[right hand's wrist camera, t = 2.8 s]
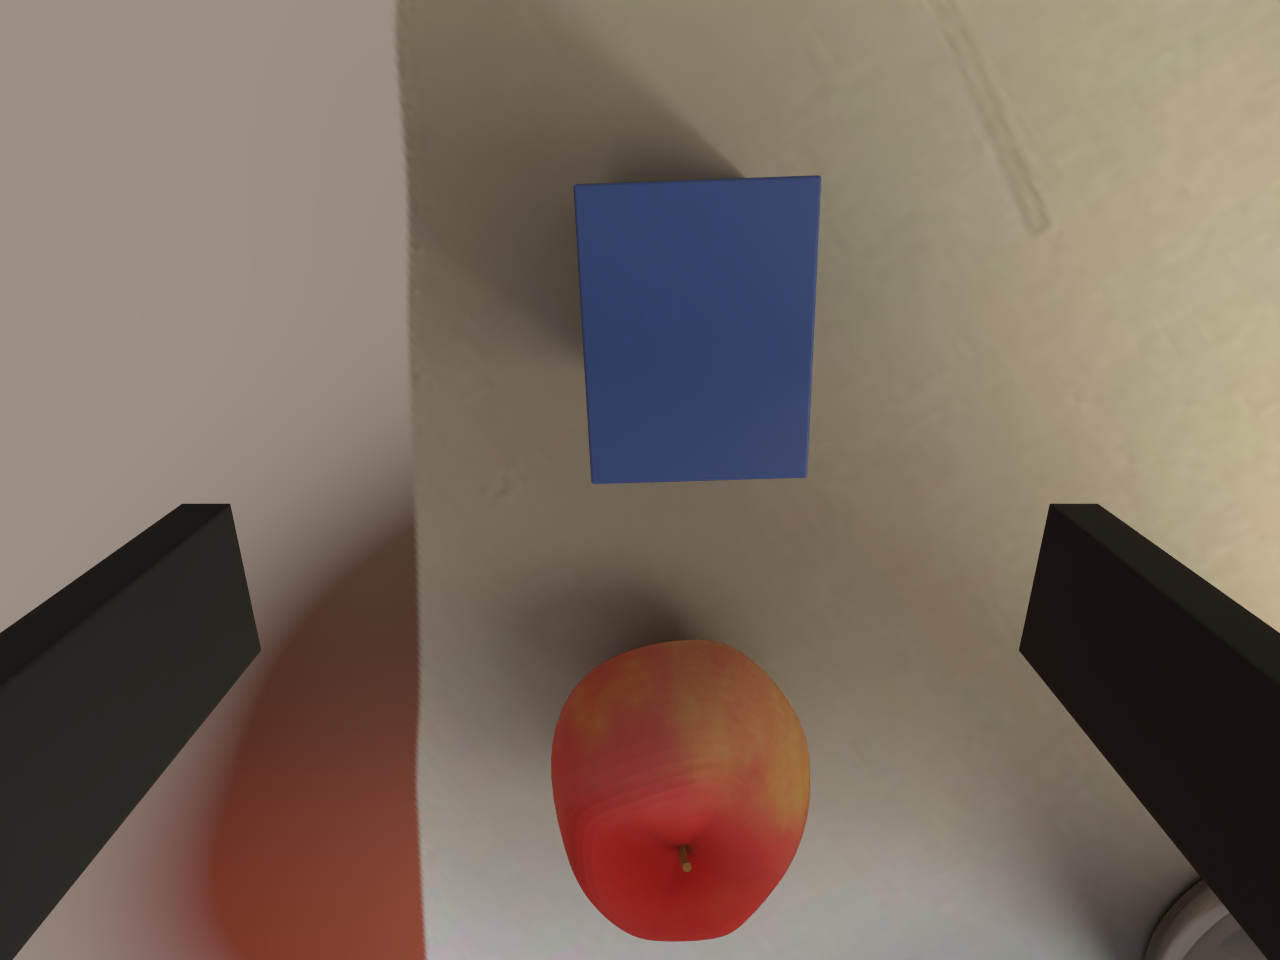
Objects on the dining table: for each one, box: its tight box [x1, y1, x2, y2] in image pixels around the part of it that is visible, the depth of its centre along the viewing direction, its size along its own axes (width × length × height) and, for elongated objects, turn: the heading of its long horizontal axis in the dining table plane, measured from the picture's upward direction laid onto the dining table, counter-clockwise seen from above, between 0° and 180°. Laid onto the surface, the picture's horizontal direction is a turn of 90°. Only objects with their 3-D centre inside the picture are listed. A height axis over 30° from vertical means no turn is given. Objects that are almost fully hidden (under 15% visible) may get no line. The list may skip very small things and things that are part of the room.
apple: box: [551, 640, 810, 941], centre depth 29 cm, size 10×10×10 cm
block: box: [574, 176, 821, 484], centre depth 22 cm, size 7×5×12 cm
